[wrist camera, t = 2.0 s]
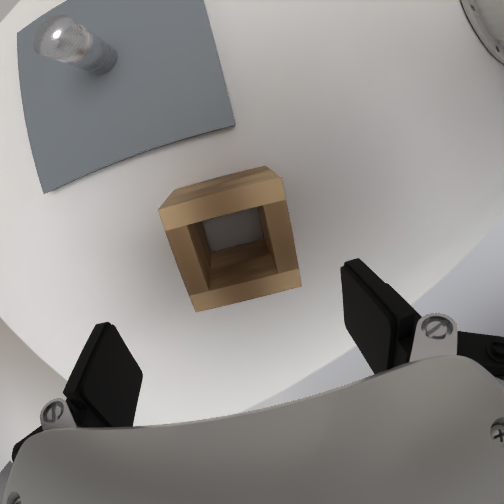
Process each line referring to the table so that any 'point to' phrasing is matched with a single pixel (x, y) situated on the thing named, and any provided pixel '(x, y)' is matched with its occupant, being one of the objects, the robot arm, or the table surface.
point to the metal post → (74, 45)
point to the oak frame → (236, 258)
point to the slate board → (122, 87)
